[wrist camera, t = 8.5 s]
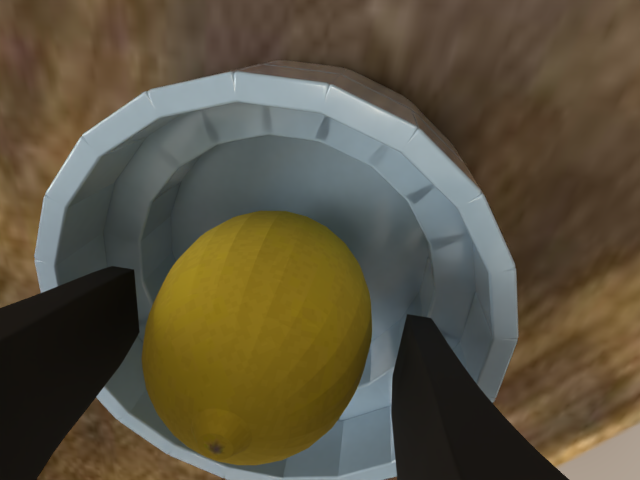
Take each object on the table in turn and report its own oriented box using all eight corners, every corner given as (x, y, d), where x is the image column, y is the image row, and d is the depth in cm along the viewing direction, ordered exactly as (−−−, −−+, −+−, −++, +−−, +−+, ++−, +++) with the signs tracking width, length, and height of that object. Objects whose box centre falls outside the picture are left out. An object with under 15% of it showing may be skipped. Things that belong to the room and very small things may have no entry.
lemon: (362, 330, 16) (346, 567, 9) (216, 307, 17) (89, 516, 9) (387, 187, 14) (392, 355, 7) (215, 164, 14) (44, 299, 7)
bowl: (145, 350, 19) (70, 449, 14) (119, 37, 14) (-12, 39, 9) (432, 401, 18) (449, 524, 13) (525, 88, 13) (603, 118, 8)
